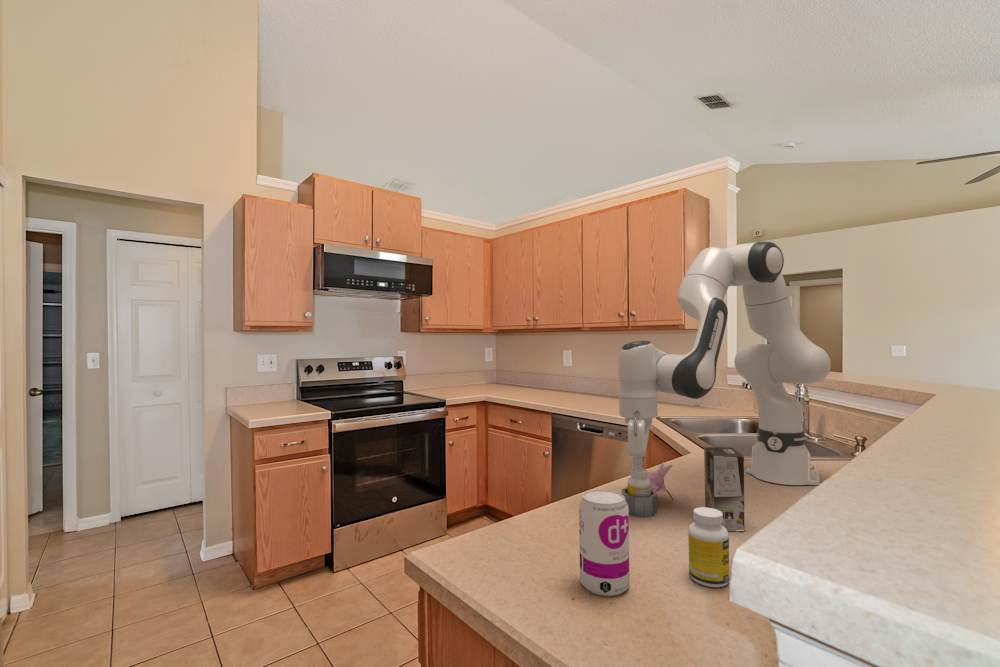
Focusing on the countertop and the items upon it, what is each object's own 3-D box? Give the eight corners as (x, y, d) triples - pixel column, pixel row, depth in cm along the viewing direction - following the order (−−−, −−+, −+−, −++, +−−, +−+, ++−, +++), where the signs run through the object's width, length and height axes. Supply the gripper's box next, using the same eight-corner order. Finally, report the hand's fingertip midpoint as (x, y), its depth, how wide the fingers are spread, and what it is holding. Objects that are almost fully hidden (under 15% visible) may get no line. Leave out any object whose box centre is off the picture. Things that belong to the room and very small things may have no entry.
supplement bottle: (627, 506, 118) (626, 466, 118) (649, 507, 117) (649, 467, 117) (628, 514, 112) (628, 472, 112) (652, 515, 111) (652, 473, 111)
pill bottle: (722, 593, 78) (721, 522, 78) (682, 580, 82) (681, 512, 82) (735, 578, 82) (734, 511, 82) (697, 566, 87) (696, 502, 87)
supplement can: (639, 593, 78) (638, 501, 78) (594, 601, 76) (592, 507, 76) (613, 570, 86) (612, 486, 86) (572, 577, 83) (571, 491, 84)
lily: (648, 493, 130) (632, 464, 129) (690, 482, 124) (673, 452, 123) (644, 522, 119) (626, 491, 118) (690, 512, 114) (671, 478, 113)
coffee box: (746, 532, 101) (745, 456, 101) (713, 530, 103) (712, 455, 103) (734, 516, 110) (733, 446, 110) (704, 514, 112) (703, 445, 112)
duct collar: (632, 502, 120) (632, 484, 120) (662, 510, 114) (662, 491, 114) (615, 511, 114) (615, 492, 114) (646, 519, 109) (646, 500, 109)
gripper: (650, 416, 104) (651, 480, 104) (653, 402, 123) (654, 456, 123) (620, 415, 106) (621, 477, 106) (628, 402, 125) (629, 454, 125)
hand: (639, 466), depth 115 cm, fingers open, 8 cm apart
